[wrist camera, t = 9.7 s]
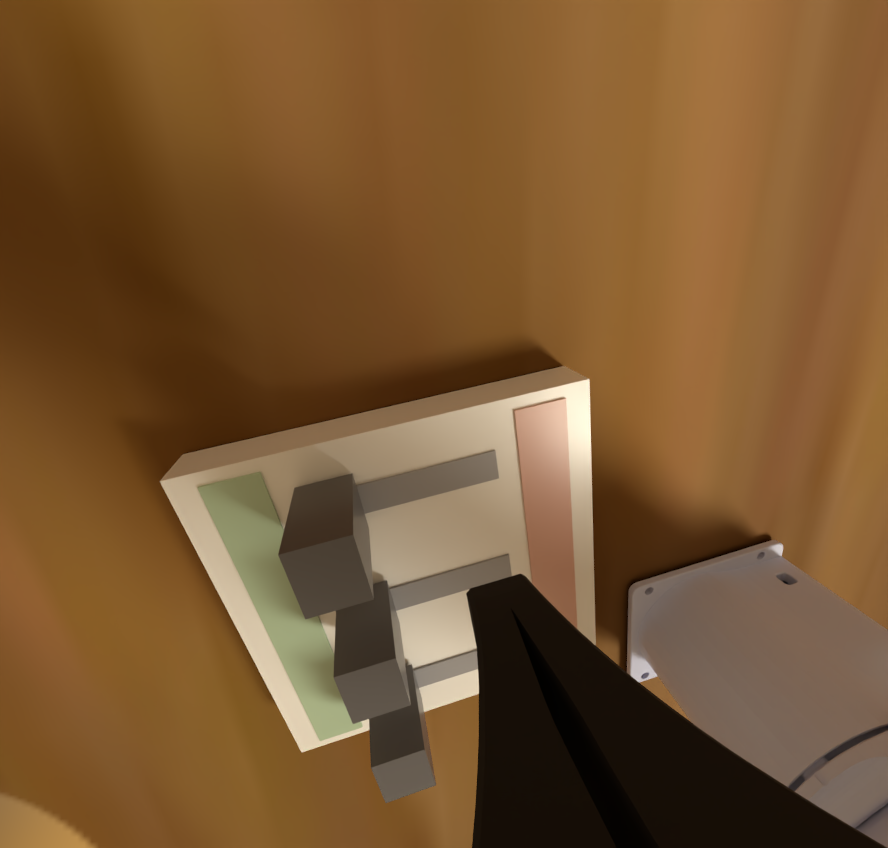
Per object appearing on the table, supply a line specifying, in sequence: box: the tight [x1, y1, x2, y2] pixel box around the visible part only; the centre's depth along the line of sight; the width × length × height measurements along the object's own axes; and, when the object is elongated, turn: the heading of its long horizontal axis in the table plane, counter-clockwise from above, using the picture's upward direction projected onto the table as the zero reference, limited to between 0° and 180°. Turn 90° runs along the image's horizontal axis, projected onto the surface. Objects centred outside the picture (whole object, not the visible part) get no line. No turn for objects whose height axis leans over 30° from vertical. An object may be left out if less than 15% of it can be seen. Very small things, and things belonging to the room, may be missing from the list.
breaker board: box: [160, 366, 596, 752], centre depth 18 cm, size 15×15×2 cm
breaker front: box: [278, 473, 374, 620], centre depth 13 cm, size 2×2×4 cm
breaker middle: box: [333, 580, 411, 724], centre depth 15 cm, size 2×2×4 cm
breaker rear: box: [369, 664, 436, 803], centre depth 17 cm, size 2×2×4 cm
